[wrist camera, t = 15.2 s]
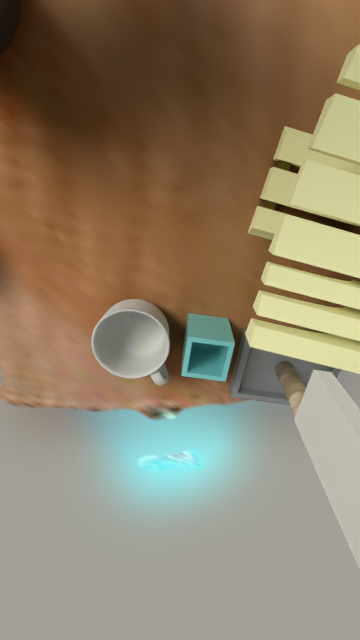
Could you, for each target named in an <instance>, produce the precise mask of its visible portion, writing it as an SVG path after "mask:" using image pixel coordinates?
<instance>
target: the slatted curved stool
mask: <svg viewBox="0 0 360 640" xmlns="http://www.w3.org/2000/svg"><path fill="white" fill-rule="evenodd" d="M337 83H339V84H342V85H345V86H348V87H351V88H354V89H356V90H359V91H360V44H359V45H358V46H356V47H355V48H354V49H353V50H352V51H350V52H349V53H348V54H347V57H346V59H345V62H344V65H343V67H342V70H341V72H340V75H339V78H338V80H337ZM273 160H275V161H277V163H276V166H275V167H272V168H270V170H269V173H268V176H267V179H266V182H265V185H264V187H263V190H262V193H261V196H260V199H264V200H263V203H262V206H261V207H260V206H257V208H256V211H255V214H254V216H253V219H252V222H251V225H250V228H249V231H248V233H249V234H252V235H256V236H259V237H263V238H267V239H270V240H272V243H271V245H270V248H269V252H271V253H272V254H273V255H277V256H280V257H284V258H287V259H291V260H295V261H298V262H302V263H306V264H309V265H313V266H317V267H320V268H324V269H328V270H331V271H335V272H339V273H342V274H346V275H350V276H353V277H357V278H360V235H359V234H355V233H352V232H348V231H345V230H341V229H338V228H334V227H331V226H327V225H324V224H320V223H317V222H313V221H310V220H306V219H303V218H299V217H296V216H292V215H289V214H285V213H282V212H278V211H275V210H274V209H275V207H276V204H277V203H278V204H281V205H285V206H288V207H292V208H295V209H299V210H302V211H306V212H309V213H313V214H316V215H320V216H323V217H326V218H330V219H333V220H337V221H340V222H344V223H347V224H351V225H354V226H358V227H360V101H359V100H355V99H352V98H349V97H346V96H343V95H340V94H337V93H336V94H334V95H333V96H331V97H330V98H328V99H327V100H326V102H325V104H324V107H323V110H322V112H321V115H320V117H319V120H318V123H317V125H316V128H315V130H314V133H313V135H312V134H309V133H305V132H302V131H299V130H296V129H293V128H289V127H286V126H285V127H284V130H283V132H282V135H281V138H280V141H279V144H278V147H277V150H276V153H275V156H274V158H273ZM291 165H292V166H295V167H299V168H300V170H299V172H298V174H296V173H293V172H289V169H290V166H291ZM261 280H262V282H263V283H264V284H265V285H269V286H272V287H276V288H280V289H284V290H287V291H291V292H295V293H299V294H303V295H306V296H310V297H314V298H318V299H321V300H325V301H329V302H333V303H337V304H340V305H344V306H345V307H343V308H337V307H330V306H324V305H319V304H314V303H310V302H305V301H301V300H297V299H293V298H289V297H284V296H280V295H277V294H273V293H269V292H265V291H261V290H259V292H258V294H257V297H256V299H255V302H254V304H253V308H254V310H255V312H256V314H257V315H259V316H263V317H267V318H271V319H275V320H279V321H283V322H286V323H290V324H294V325H298V326H302V327H306V328H310V329H314V330H318V331H322V332H325V333H329V334H325V333H317V332H311V331H305V330H300V329H296V328H291V327H287V326H282V325H278V324H274V323H269V322H265V321H261V320H257V319H253V318H251V320H250V322H249V325H248V327H247V330H246V332H245V335H246V338H247V340H248V343H249V346H250V347H253V348H257V349H261V350H265V351H269V352H273V353H277V354H281V355H285V356H289V357H293V358H297V359H301V360H305V361H309V362H313V363H317V364H321V365H325V366H329V367H333V368H338V369H342V370H346V371H350V372H354V373H358V374H360V281H356V280H353V281H344V280H339V279H334V278H329V277H325V276H321V275H317V274H313V273H309V272H305V271H301V270H297V269H293V268H290V267H286V266H282V265H278V264H275V263H271V262H267V263H266V266H265V269H264V271H263V274H262V276H261Z"/></svg>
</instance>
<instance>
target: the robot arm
mask: <svg viewBox="0 0 360 640" xmlns="http://www.w3.org/2000/svg"><path fill="white" fill-rule="evenodd" d="M19 6H20V0H0V53H1V52H2V51H3V50H4V49H5V47H6V46H7V45H8V43H9V41H10V39H11V38H12V35H13V33H14V30H15V27H16V24H17V20H18V14H19ZM2 383H3V381H2V374H1V367H0V385H1V384H2ZM294 421H295V424H296V426H297V428H298V430H299V433H300V435H301V437H302V440H303V442H304V444H305V446H306V449H307V451H308V453H309V456H310V458H311V460H312V462H313V465H314V467H315V469H316V472H317V474H318V476H319V478H320V481H321V483H322V485H323V487H324V490H325V492H326V494H327V497H328V499H329V501H330V503H331V506H332V508H333V510H334V512H335V514H336V516H337V519H338V522H339V524H340V526H341V528H342V531H343V533H344V535H345V537H346V540H347V542H348V544H349V547H350V548H351V551H352V553H353V556H354V558H355V560H356V563H357V565H358V567H359V569H360V409H359V408H358V407H357V405H356V404H355V403H354V401H353V400H352V399H351V397H350V396H349V395H348V393H347V392H346V391H345V389H344V388H343V387H342V386H341V384H340V383H339V381H338V380H337V379H336V377H335V376H334V375H333V373H332V372H327V371H320V370H313V372H312V374H311V377H310V380H309V382H308V385H307V387H306V390H305V393H304V395H303V398H302V400H301V403H300V406H299V408H298V411H297V413H296V416H295V419H294Z"/></svg>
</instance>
